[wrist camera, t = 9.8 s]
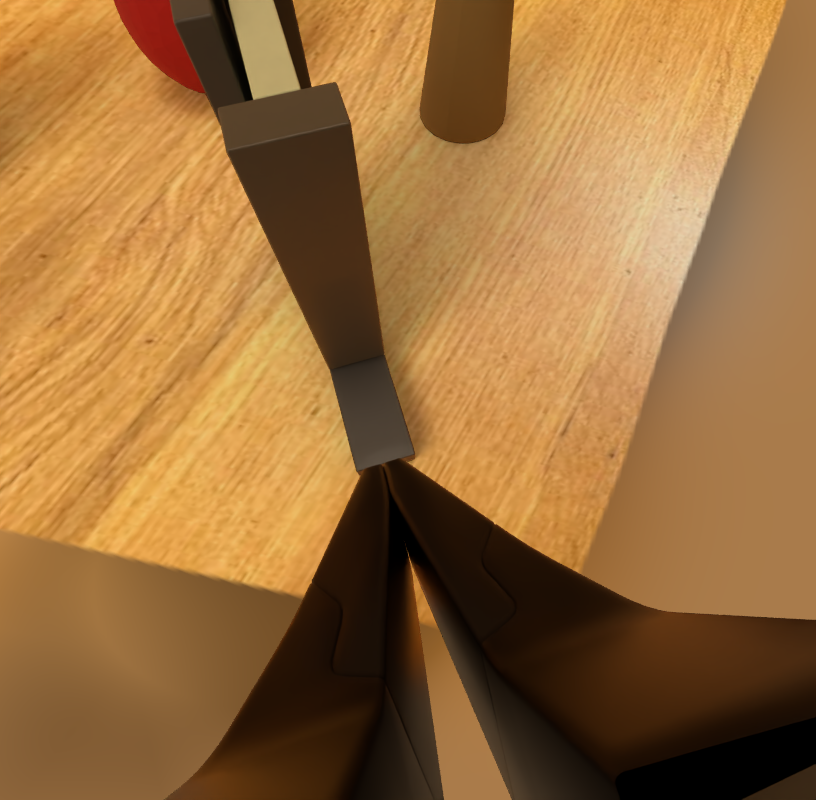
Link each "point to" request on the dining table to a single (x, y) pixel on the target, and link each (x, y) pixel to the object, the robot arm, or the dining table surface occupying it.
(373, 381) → the wooden frame stand
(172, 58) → the apple
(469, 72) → the wooden game pawn
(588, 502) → the dining table surface
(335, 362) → the door
